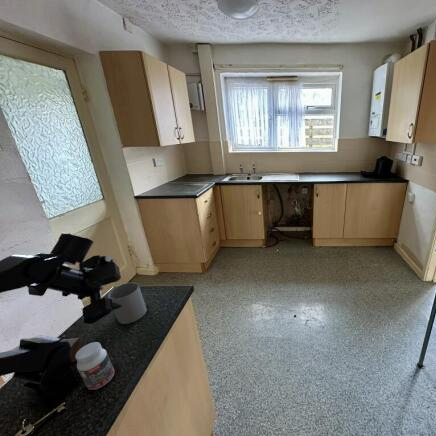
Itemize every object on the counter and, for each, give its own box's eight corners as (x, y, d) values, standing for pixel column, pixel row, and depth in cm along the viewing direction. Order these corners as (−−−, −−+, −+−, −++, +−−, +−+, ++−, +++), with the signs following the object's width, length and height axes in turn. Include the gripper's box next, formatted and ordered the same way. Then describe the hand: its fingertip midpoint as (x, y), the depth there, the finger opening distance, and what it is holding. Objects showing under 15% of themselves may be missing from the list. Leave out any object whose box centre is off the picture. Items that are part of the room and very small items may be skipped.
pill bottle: (97, 393, 56) (82, 364, 53) (81, 386, 58) (65, 358, 54) (120, 371, 61) (108, 343, 58) (105, 365, 63) (91, 337, 59)
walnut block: (73, 363, 64) (66, 351, 62) (55, 365, 64) (49, 353, 62) (84, 348, 68) (79, 337, 67) (68, 350, 68) (62, 339, 66)
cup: (132, 325, 76) (123, 300, 72) (111, 322, 77) (101, 297, 74) (152, 306, 83) (144, 283, 80) (132, 304, 85) (124, 281, 81)
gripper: (103, 294, 55) (149, 305, 69) (96, 235, 65) (137, 255, 78) (57, 321, 54) (112, 327, 67) (56, 257, 63) (105, 274, 77)
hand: (118, 293), depth 72 cm, fingers open, 9 cm apart
